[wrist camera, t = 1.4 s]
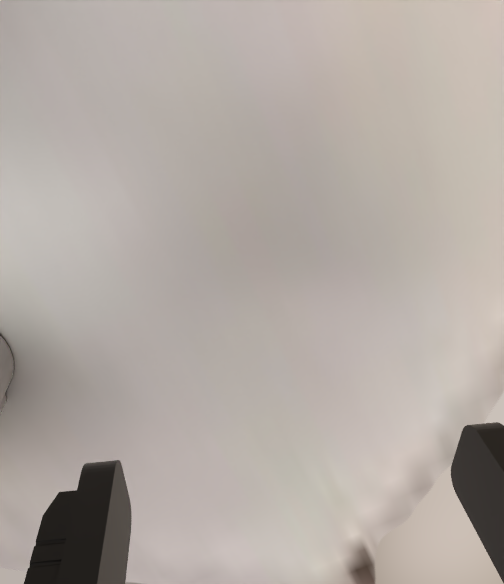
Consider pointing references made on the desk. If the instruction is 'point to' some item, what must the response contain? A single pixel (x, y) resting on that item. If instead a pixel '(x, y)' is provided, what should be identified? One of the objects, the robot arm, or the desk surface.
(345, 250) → the desk surface
